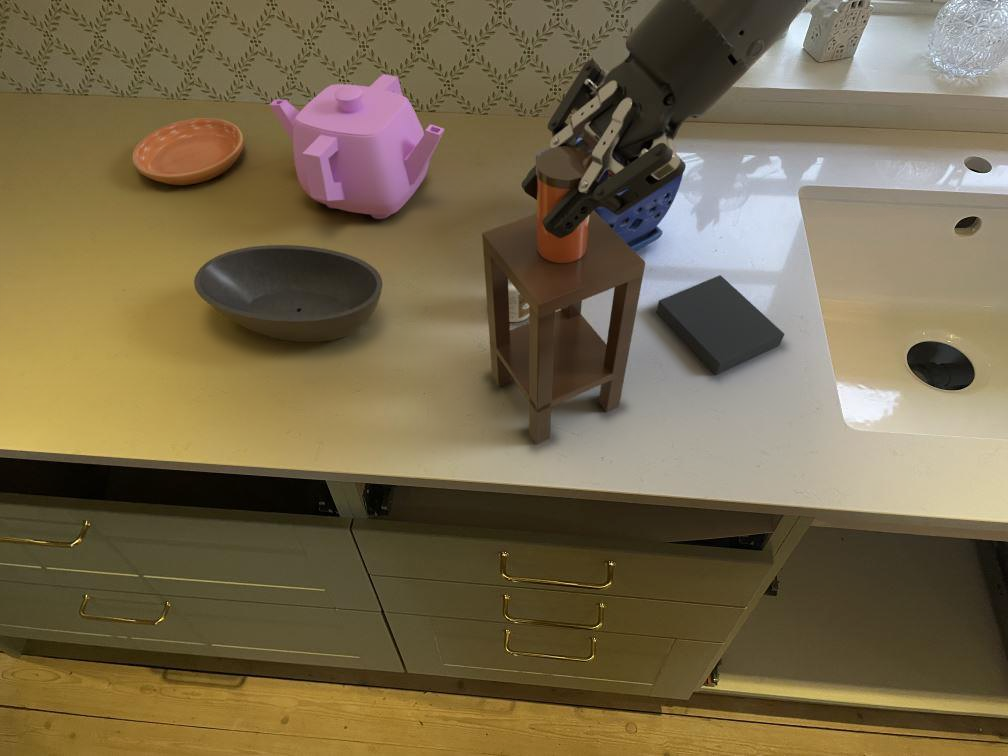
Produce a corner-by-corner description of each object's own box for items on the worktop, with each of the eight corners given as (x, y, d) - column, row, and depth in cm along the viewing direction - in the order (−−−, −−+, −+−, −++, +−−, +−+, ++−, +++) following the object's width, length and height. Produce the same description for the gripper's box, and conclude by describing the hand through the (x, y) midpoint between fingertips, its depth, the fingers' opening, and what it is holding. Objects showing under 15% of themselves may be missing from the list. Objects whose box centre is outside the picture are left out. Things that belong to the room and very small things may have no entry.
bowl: (239, 275, 83) (221, 237, 78) (404, 294, 80) (396, 255, 75) (194, 345, 76) (171, 308, 71) (374, 369, 73) (363, 331, 68)
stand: (619, 407, 68) (645, 262, 53) (536, 445, 66) (538, 304, 50) (570, 344, 74) (581, 197, 58) (492, 377, 71) (481, 232, 56)
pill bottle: (529, 325, 76) (529, 276, 70) (492, 321, 77) (489, 272, 71) (535, 299, 79) (535, 249, 73) (499, 295, 79) (497, 246, 73)
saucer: (210, 123, 107) (203, 105, 105) (269, 157, 100) (262, 139, 98) (121, 167, 100) (111, 149, 97) (177, 207, 93) (168, 189, 90)
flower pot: (530, 231, 87) (530, 151, 78) (608, 196, 91) (617, 117, 82) (590, 288, 80) (598, 207, 70) (672, 247, 84) (690, 167, 75)
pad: (779, 345, 73) (785, 333, 71) (715, 375, 71) (719, 364, 69) (716, 286, 79) (720, 274, 78) (655, 312, 77) (658, 300, 75)
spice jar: (598, 253, 54) (606, 168, 47) (552, 271, 52) (554, 186, 46) (570, 224, 56) (575, 140, 50) (526, 240, 55) (525, 156, 49)
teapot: (455, 209, 90) (444, 106, 79) (330, 250, 86) (298, 147, 74) (406, 143, 101) (389, 44, 90) (292, 176, 97) (259, 76, 85)
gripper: (636, -51, 45) (480, 140, 53) (743, 36, 37) (538, 250, 44) (690, 18, 50) (540, 183, 58) (795, 108, 42) (603, 289, 49)
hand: (540, 211), depth 51 cm, fingers closed on spice jar, 4 cm apart
